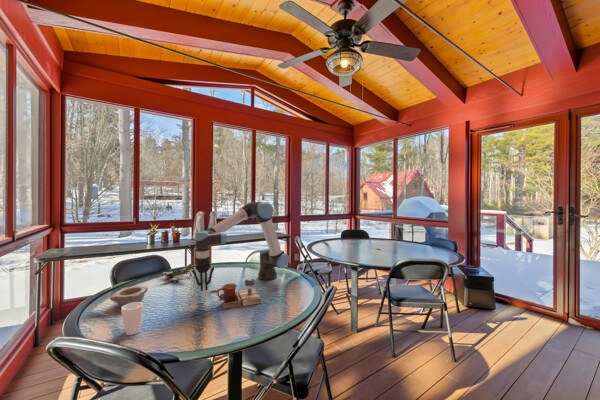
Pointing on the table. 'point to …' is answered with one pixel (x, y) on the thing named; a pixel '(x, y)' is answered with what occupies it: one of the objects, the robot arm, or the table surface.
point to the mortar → (129, 295)
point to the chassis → (243, 298)
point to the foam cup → (132, 317)
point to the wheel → (249, 282)
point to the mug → (228, 293)
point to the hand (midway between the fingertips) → (204, 295)
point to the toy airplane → (179, 273)
